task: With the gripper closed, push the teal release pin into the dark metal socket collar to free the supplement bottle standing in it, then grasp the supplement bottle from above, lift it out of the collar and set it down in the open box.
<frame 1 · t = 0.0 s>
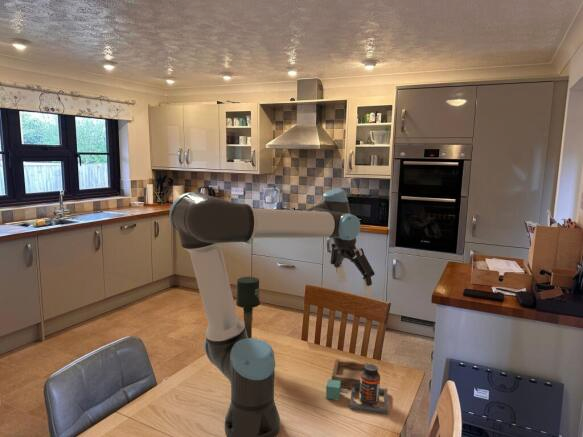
hand: (355, 287, 147), 28 cm above the table, tool tilted 20°, fingers open, 13 cm apart
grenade: (247, 359, 151), on the table
socket collar: (368, 401, 126), on the table
release pin: (337, 390, 128), point 2 cm above the table, slide at 0.0 cm
open box: (350, 377, 139), on the table
supplement bottle: (368, 401, 126), resting in socket collar
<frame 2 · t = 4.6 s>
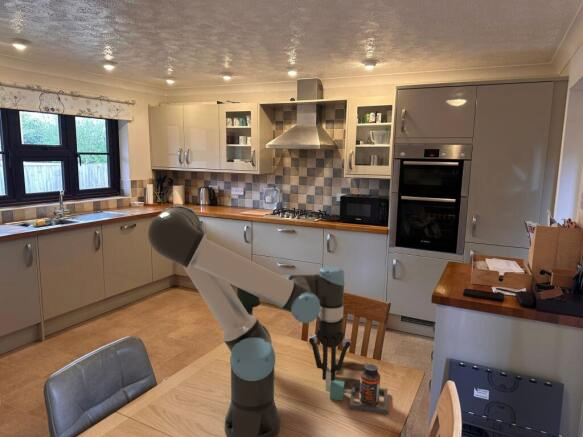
hand: (328, 389, 129), 2 cm above the table, tool pointing down, fingers closed
release pin: (341, 390, 128), point 2 cm above the table, slide at 1.2 cm, touching gripper
everything else where it was.
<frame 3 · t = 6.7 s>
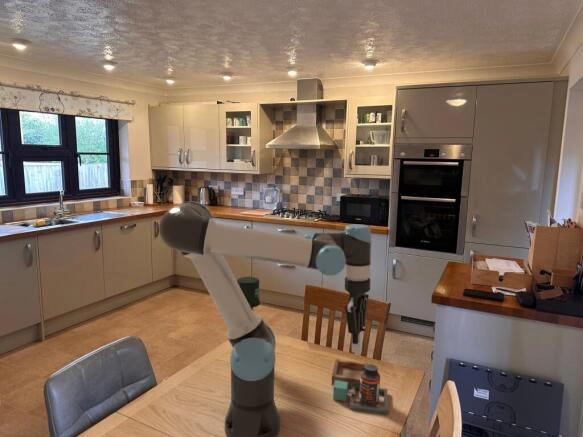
hand: (356, 352, 125), 15 cm above the table, tool pointing down, fingers closed
release pin: (344, 391, 127), point 2 cm above the table, slide at 2.2 cm
everything else where it was.
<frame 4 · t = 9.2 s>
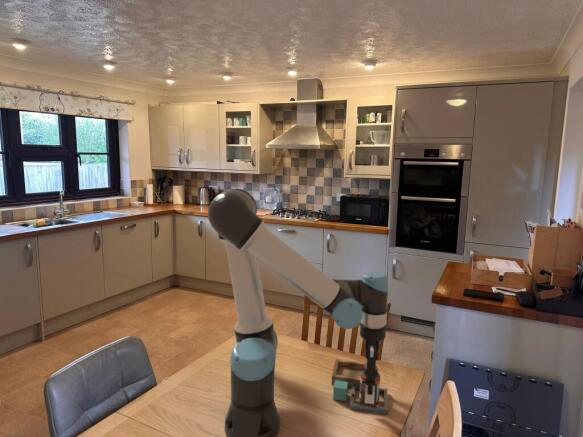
hand: (369, 390, 126), 3 cm above the table, tool pointing down, fingers open, 11 cm apart
nothing on the table moved.
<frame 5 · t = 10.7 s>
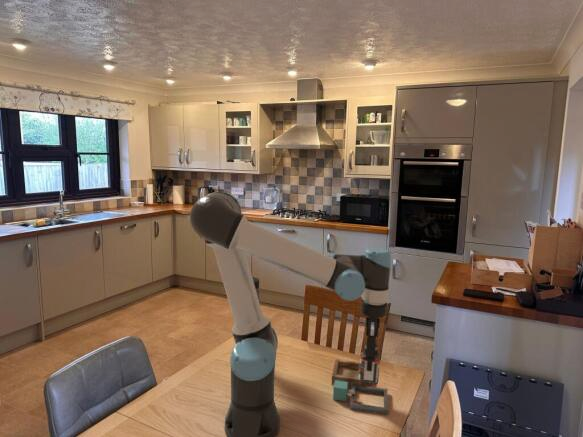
hand: (368, 373, 125), 9 cm above the table, tool pointing down, fingers closed on supplement bottle, 6 cm apart
supplement bottle: (368, 382, 125), point 6 cm above the table, touching gripper
everything else where it was.
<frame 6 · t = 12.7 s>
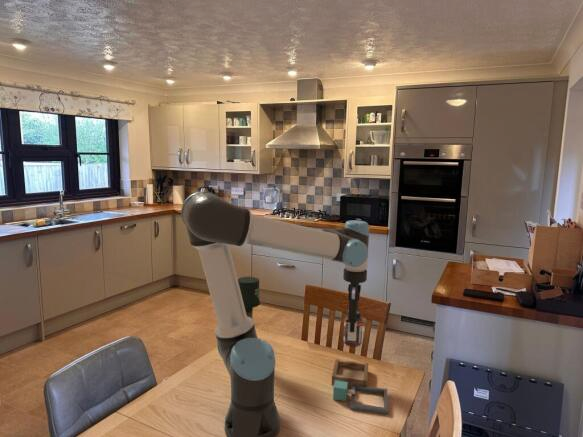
hand: (352, 335, 137), 15 cm above the table, tool pointing down, fingers closed on supplement bottle, 6 cm apart
supplement bottle: (352, 344, 137), point 12 cm above the table, touching gripper
everything else where it was.
when the fingers open (4 cm above the table, at t = 14.9 s): supplement bottle stays where it is, resting on open box.
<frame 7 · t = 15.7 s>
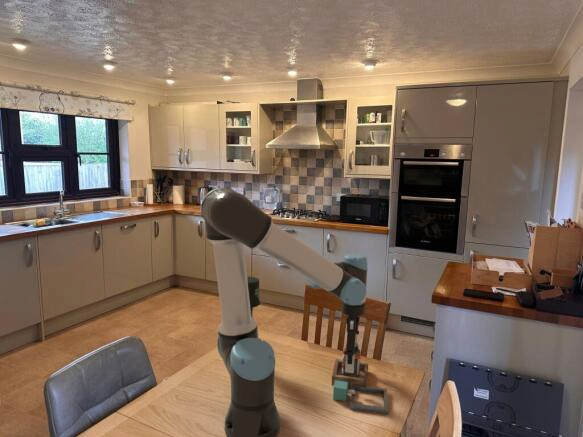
hand: (350, 361, 138), 6 cm above the table, tool pointing down, fingers open, 13 cm apart
supplement bottle: (350, 375, 139), point 1 cm above the table, touching open box
everything else where it was.
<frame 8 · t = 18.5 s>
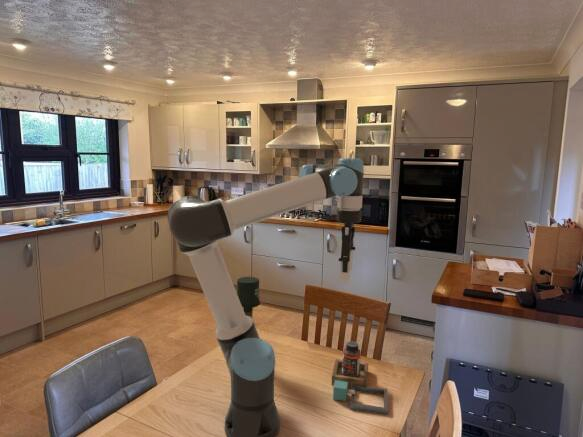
hand: (346, 275, 130), 37 cm above the table, tool pointing down, fingers open, 13 cm apart
nothing on the table moved.
at the end: supplement bottle inside the target area on the open box (0.1 cm from its centre), point 0.8 cm above the open box's base; supplement bottle tilted 0°; release pin slide at 2.2 cm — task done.
